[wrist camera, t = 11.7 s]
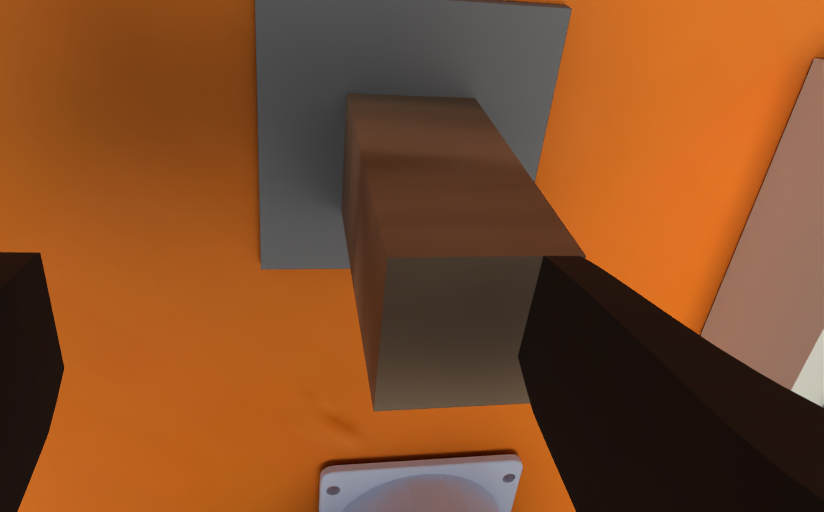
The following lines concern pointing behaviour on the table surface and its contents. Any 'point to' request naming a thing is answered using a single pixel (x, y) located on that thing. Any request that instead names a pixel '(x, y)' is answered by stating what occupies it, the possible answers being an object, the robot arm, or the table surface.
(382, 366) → the walnut peg
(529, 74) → the rubber pad
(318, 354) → the table surface
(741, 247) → the button base
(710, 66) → the table surface
